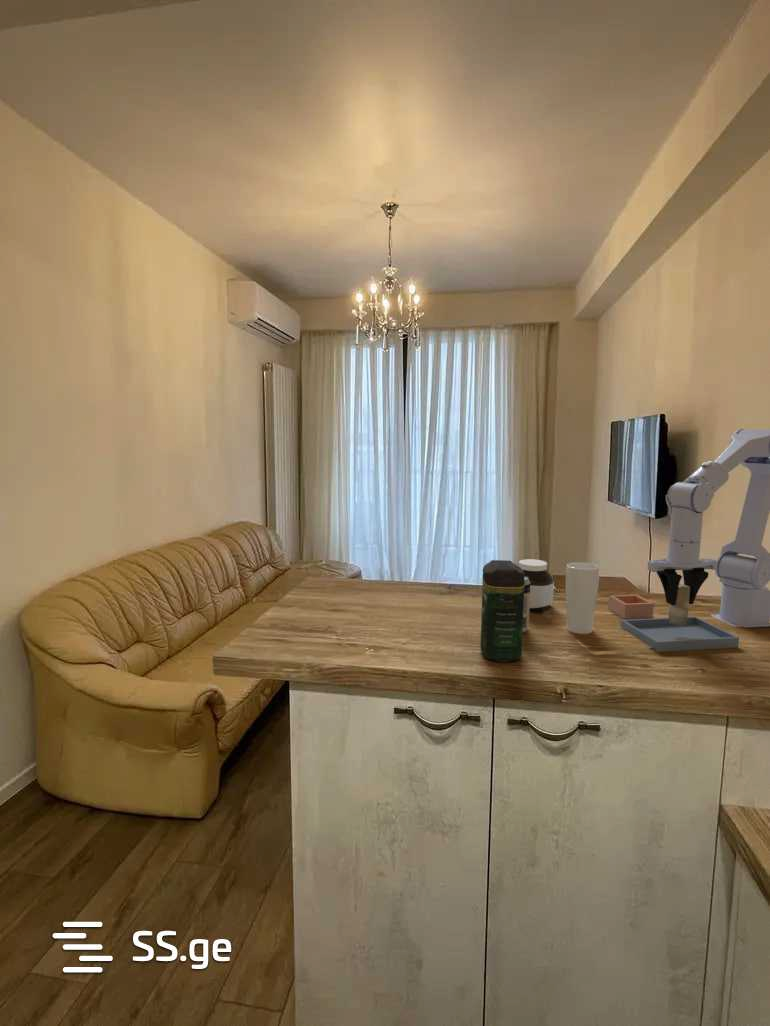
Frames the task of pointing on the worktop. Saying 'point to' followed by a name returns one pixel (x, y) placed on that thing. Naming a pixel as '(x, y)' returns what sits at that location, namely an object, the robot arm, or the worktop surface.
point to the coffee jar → (502, 611)
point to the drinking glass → (581, 596)
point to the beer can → (526, 604)
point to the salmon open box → (630, 606)
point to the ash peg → (680, 606)
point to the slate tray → (680, 634)
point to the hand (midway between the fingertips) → (679, 603)
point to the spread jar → (538, 584)
